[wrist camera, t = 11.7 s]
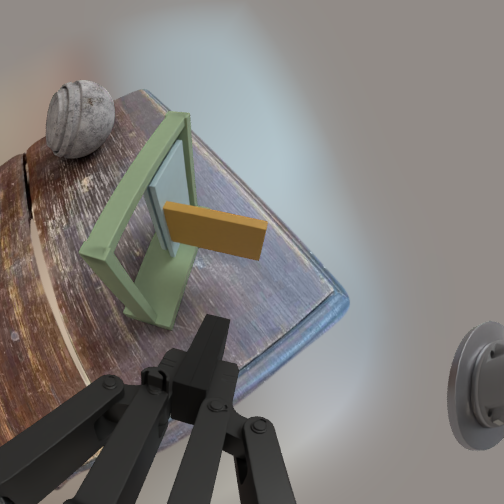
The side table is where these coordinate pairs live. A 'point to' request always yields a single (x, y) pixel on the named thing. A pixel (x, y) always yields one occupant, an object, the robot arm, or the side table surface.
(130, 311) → the window frame
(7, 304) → the side table surface
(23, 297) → the side table surface
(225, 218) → the window pane
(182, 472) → the robot arm
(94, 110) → the decorative orb
